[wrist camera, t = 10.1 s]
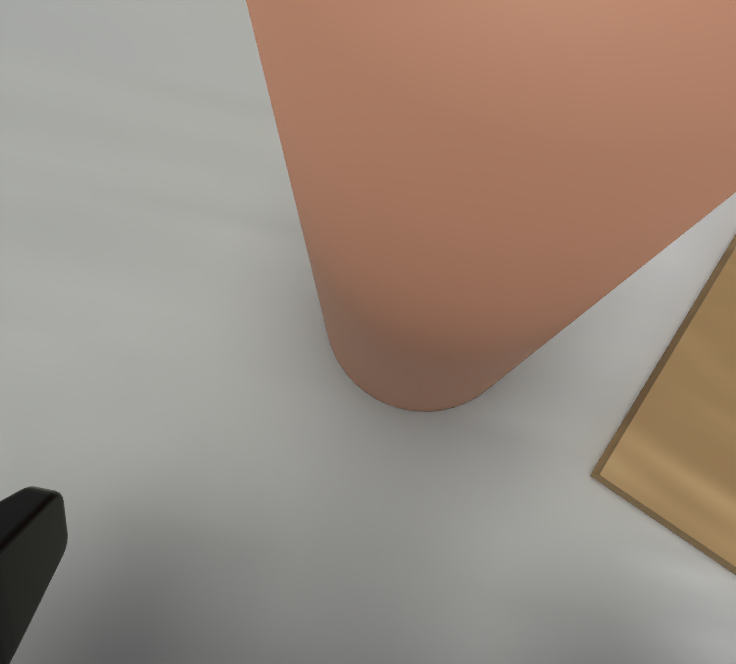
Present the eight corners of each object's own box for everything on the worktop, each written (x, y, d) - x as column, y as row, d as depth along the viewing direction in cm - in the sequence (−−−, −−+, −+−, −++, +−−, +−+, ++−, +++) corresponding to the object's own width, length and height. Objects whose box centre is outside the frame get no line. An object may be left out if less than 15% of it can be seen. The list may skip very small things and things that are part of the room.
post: (547, 380, 16) (1159, 24, 4) (355, 435, 16) (318, 246, 3) (485, 202, 18) (799, -535, 5) (304, 250, 17) (136, -408, 5)
